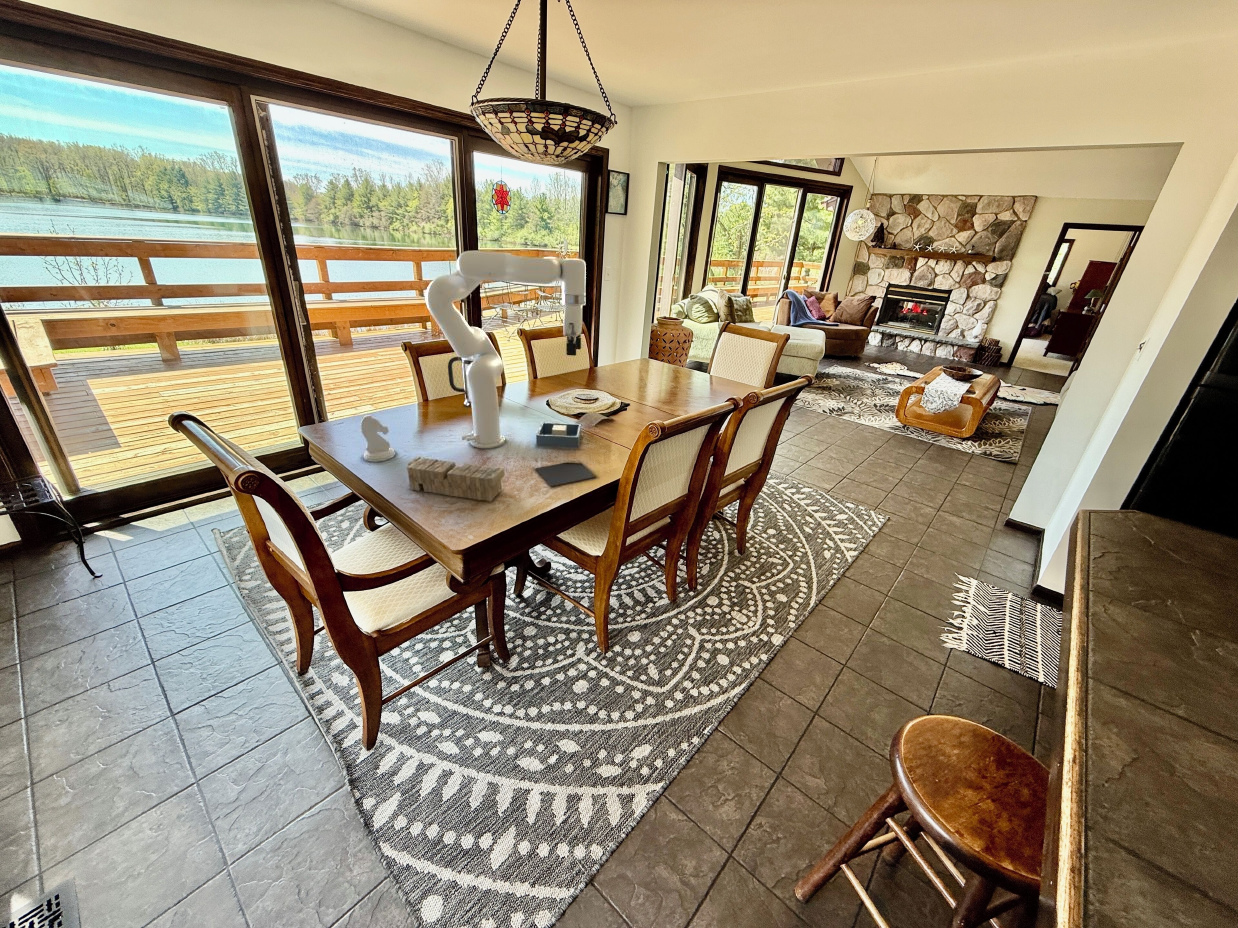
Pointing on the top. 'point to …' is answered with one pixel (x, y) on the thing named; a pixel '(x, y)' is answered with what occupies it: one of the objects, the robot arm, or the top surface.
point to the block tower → (455, 478)
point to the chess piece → (375, 440)
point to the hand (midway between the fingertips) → (573, 352)
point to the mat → (565, 473)
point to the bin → (547, 439)
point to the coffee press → (466, 387)
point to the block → (559, 430)
